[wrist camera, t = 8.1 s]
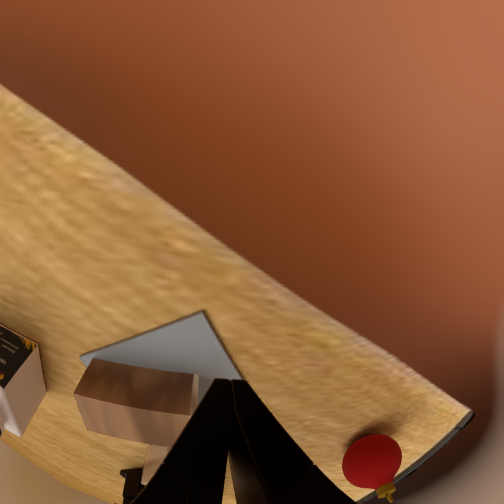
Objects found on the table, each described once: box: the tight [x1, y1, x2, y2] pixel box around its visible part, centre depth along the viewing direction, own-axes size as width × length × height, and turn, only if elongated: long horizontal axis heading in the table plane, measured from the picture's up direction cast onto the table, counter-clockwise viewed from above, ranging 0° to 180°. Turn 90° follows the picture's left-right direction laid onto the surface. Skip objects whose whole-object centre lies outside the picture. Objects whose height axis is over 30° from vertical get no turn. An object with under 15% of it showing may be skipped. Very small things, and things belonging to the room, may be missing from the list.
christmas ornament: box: [342, 434, 402, 502], centre depth 22 cm, size 7×7×10 cm
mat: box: [79, 310, 243, 404], centre depth 22 cm, size 16×12×1 cm
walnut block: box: [73, 358, 199, 447], centre depth 19 cm, size 4×4×9 cm
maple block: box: [141, 444, 172, 486], centre depth 21 cm, size 4×4×5 cm
